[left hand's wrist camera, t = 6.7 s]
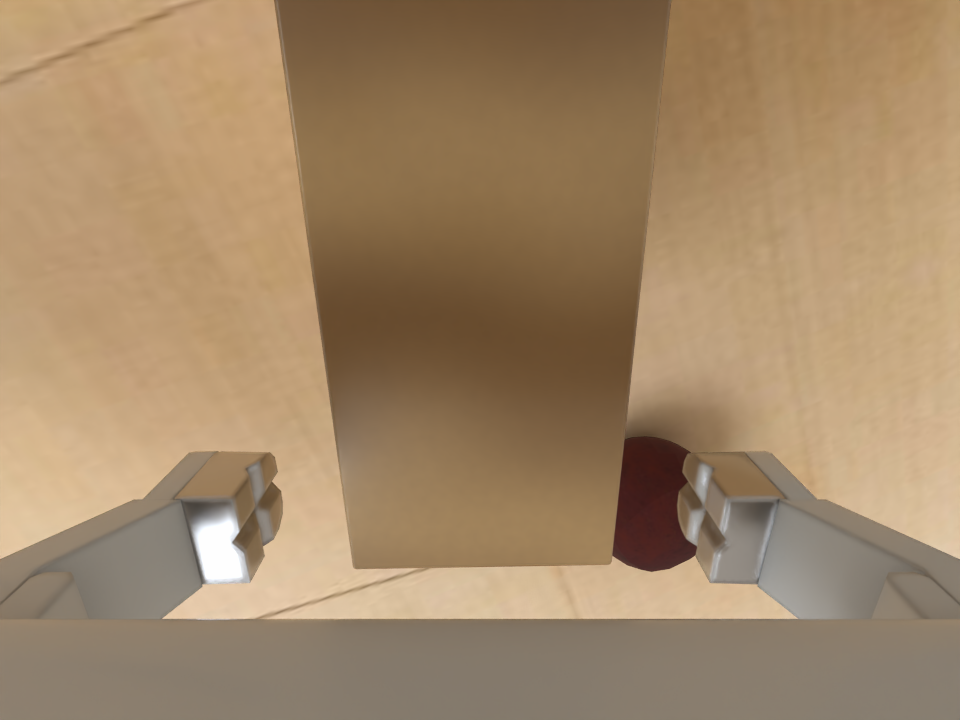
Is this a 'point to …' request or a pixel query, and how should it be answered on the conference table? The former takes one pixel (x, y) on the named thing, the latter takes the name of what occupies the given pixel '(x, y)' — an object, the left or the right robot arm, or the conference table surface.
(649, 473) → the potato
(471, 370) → the box
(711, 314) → the conference table surface
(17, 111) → the conference table surface
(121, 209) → the conference table surface
